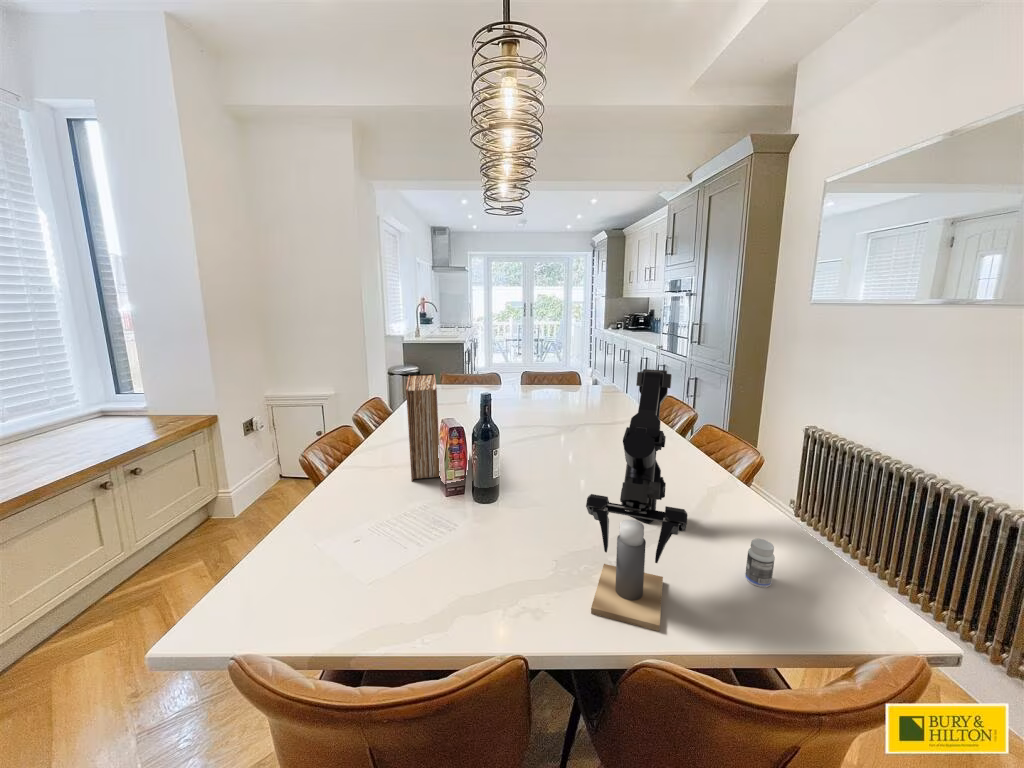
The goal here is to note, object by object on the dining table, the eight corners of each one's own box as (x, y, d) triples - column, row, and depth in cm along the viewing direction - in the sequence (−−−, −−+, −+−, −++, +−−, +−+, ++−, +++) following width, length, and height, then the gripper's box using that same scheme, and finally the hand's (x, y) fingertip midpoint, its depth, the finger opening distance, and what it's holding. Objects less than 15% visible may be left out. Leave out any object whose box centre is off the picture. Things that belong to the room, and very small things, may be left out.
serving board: (603, 568, 91) (603, 563, 91) (662, 581, 87) (662, 576, 87) (590, 613, 79) (591, 607, 78) (659, 631, 74) (659, 625, 74)
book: (440, 479, 136) (436, 387, 130) (411, 481, 135) (405, 389, 128) (438, 451, 161) (434, 373, 154) (413, 453, 159) (408, 374, 153)
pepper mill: (634, 580, 86) (636, 516, 83) (648, 597, 81) (652, 530, 78) (610, 584, 85) (612, 520, 82) (623, 602, 80) (626, 535, 77)
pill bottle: (747, 570, 91) (751, 534, 89) (773, 579, 88) (778, 542, 86) (742, 581, 87) (747, 544, 85) (768, 591, 84) (774, 553, 83)
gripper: (589, 456, 84) (575, 535, 77) (691, 470, 78) (686, 558, 70) (595, 477, 93) (583, 550, 85) (687, 491, 87) (682, 571, 79)
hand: (630, 557), depth 80 cm, fingers open, 9 cm apart
